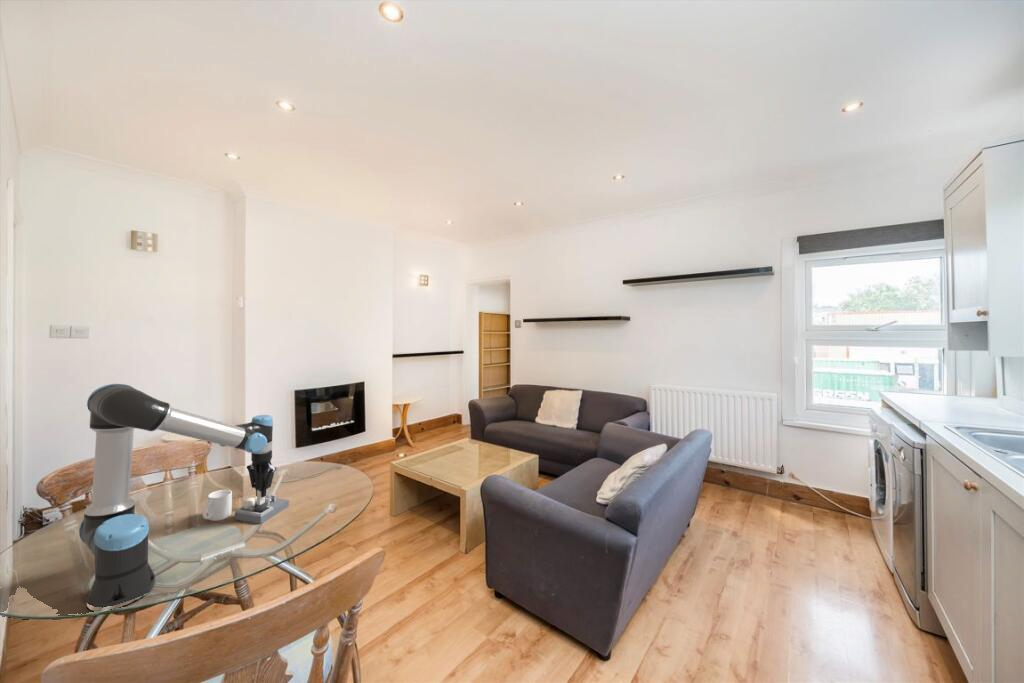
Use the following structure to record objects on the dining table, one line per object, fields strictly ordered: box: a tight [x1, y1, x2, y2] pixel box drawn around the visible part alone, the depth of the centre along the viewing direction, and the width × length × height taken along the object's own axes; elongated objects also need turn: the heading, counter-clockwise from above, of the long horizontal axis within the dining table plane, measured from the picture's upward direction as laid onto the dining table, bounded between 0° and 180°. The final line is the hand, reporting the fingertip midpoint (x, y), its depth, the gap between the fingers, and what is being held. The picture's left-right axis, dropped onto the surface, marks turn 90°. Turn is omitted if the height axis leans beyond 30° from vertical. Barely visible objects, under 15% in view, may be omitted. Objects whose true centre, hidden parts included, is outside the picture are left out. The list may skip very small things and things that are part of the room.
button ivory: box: [242, 497, 256, 509], centre depth 166 cm, size 4×4×3 cm
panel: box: [234, 494, 290, 525], centre depth 170 cm, size 16×13×6 cm
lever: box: [266, 488, 273, 502], centre depth 174 cm, size 2×1×13 cm
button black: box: [255, 502, 267, 513], centre depth 165 cm, size 4×4×3 cm
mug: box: [201, 489, 233, 522], centre depth 163 cm, size 12×8×10 cm
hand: (260, 503), depth 165 cm, fingers closed
